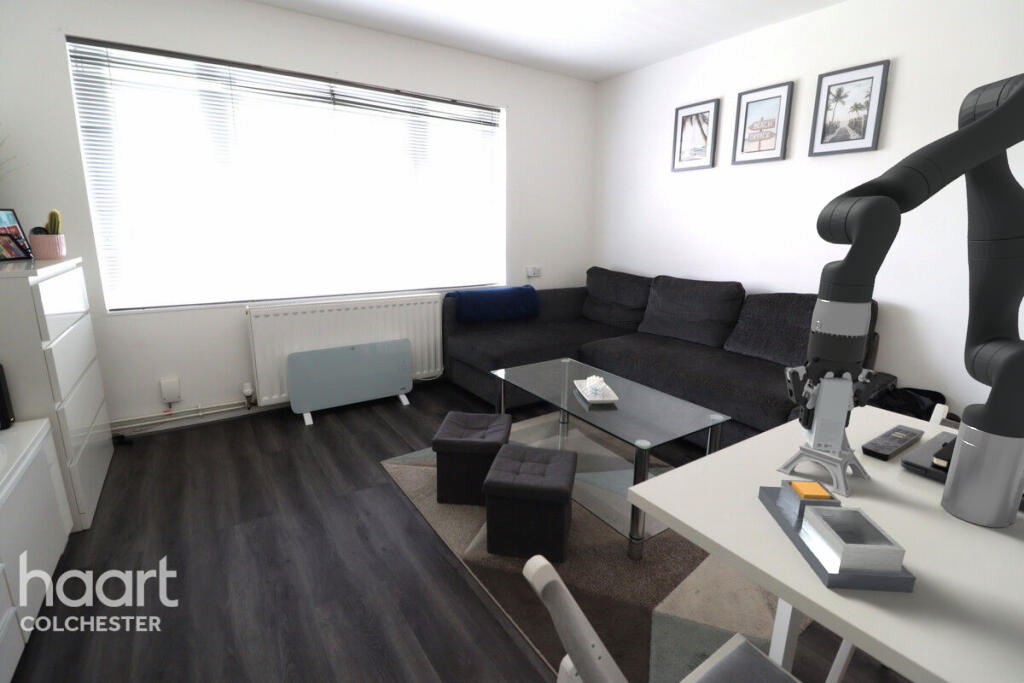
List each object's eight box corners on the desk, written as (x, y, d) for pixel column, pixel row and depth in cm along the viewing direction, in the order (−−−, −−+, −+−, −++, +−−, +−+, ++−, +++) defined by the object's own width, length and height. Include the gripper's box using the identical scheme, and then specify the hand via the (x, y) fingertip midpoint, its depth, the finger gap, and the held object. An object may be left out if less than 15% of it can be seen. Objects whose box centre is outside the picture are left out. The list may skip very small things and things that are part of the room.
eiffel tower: (802, 453, 113) (823, 328, 106) (869, 477, 103) (898, 340, 96) (776, 470, 105) (797, 337, 98) (846, 498, 95) (875, 351, 88)
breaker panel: (821, 500, 94) (827, 470, 92) (912, 592, 70) (921, 553, 69) (758, 497, 94) (762, 467, 93) (826, 587, 71) (833, 549, 70)
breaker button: (814, 496, 89) (816, 482, 89) (827, 510, 85) (830, 495, 84) (789, 495, 90) (792, 481, 89) (801, 509, 86) (804, 494, 85)
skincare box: (841, 452, 78) (854, 381, 75) (812, 449, 79) (823, 380, 76) (826, 436, 83) (837, 370, 80) (799, 434, 84) (809, 368, 81)
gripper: (872, 324, 79) (854, 421, 83) (781, 322, 80) (767, 417, 85) (903, 334, 72) (882, 440, 76) (802, 332, 73) (787, 436, 77)
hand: (822, 427), depth 80 cm, fingers closed on skincare box, 4 cm apart
